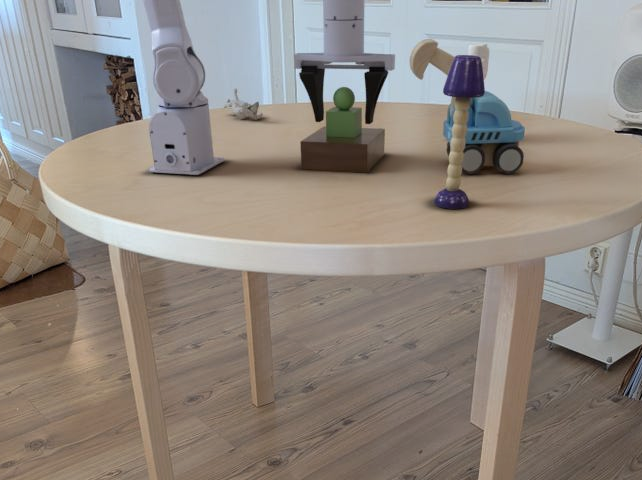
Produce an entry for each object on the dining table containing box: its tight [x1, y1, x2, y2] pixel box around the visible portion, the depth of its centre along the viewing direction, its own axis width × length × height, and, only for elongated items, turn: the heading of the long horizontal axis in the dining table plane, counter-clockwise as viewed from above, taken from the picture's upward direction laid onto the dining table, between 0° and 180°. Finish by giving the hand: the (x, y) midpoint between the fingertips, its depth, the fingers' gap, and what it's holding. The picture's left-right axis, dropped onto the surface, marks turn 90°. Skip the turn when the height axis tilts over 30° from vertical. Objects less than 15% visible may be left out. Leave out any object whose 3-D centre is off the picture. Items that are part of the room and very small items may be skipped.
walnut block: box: [300, 125, 386, 174], centre depth 100 cm, size 12×10×4 cm
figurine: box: [467, 43, 490, 80], centre depth 112 cm, size 7×9×15 cm
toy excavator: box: [409, 38, 526, 175], centre depth 93 cm, size 9×17×17 cm, turn 91°
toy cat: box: [223, 88, 264, 121], centre depth 134 cm, size 8×5×12 cm
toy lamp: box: [433, 54, 486, 210], centre depth 77 cm, size 5×5×17 cm
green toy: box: [325, 86, 363, 138], centre depth 98 cm, size 4×4×7 cm
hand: (344, 121), depth 99 cm, fingers open, 7 cm apart
